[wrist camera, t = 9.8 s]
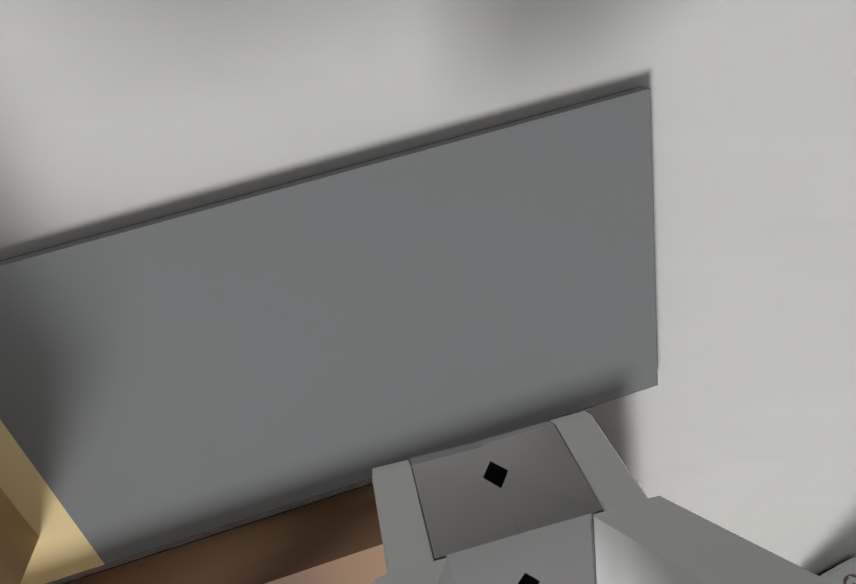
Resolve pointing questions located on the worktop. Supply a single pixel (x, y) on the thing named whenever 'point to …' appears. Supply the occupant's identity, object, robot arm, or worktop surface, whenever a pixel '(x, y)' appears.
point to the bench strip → (324, 331)
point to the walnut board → (274, 550)
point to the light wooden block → (14, 542)
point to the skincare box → (842, 573)
